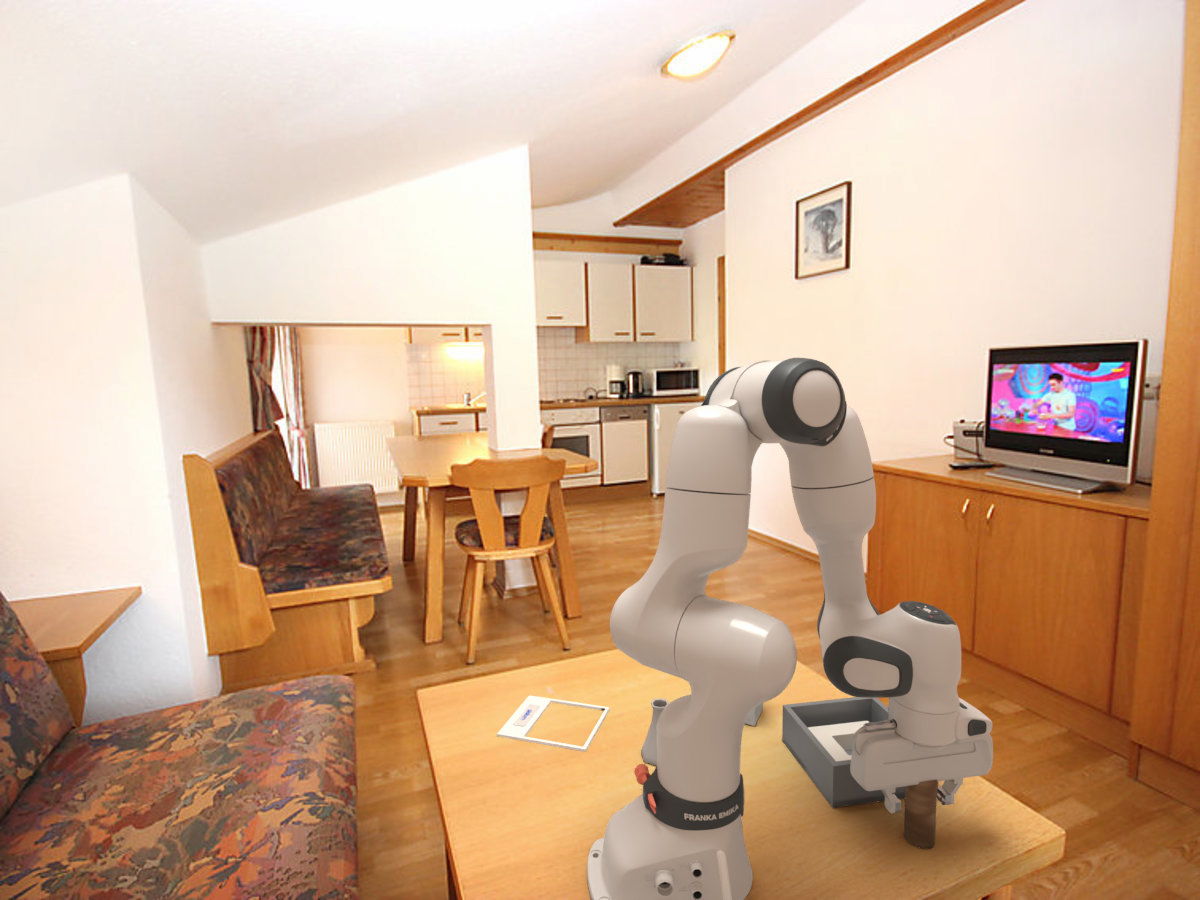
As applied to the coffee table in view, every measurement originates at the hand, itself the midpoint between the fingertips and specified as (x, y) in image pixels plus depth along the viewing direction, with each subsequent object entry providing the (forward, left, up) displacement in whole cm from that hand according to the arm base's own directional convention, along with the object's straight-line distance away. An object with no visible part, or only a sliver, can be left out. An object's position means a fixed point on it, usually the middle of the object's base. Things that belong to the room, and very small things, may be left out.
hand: (919, 806), depth 89 cm
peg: (0, 0, -5) cm, 5 cm away
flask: (-32, +26, -5) cm, 41 cm away
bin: (0, +17, -5) cm, 17 cm away
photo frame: (-50, +40, -5) cm, 64 cm away
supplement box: (-13, +36, -5) cm, 38 cm away
